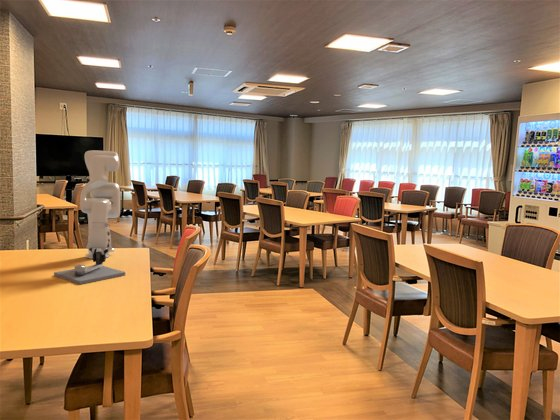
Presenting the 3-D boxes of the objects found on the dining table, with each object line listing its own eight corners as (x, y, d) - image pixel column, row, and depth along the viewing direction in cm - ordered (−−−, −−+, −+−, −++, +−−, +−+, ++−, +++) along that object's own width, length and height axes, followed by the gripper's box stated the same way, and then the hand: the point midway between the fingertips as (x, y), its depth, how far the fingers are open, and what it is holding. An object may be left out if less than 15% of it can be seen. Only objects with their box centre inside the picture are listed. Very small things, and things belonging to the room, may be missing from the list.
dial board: (98, 267, 222) (98, 264, 222) (125, 275, 209) (125, 271, 209) (54, 275, 203) (54, 271, 203) (80, 284, 190) (80, 280, 190)
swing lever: (81, 276, 197) (81, 259, 196) (72, 275, 198) (72, 259, 197) (105, 266, 216) (105, 251, 216) (96, 265, 217) (96, 251, 216)
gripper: (118, 225, 216) (118, 261, 218) (88, 223, 218) (87, 259, 220) (111, 227, 208) (110, 264, 210) (79, 225, 210) (79, 262, 212)
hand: (99, 261), depth 215 cm, fingers closed on swing lever, 3 cm apart
